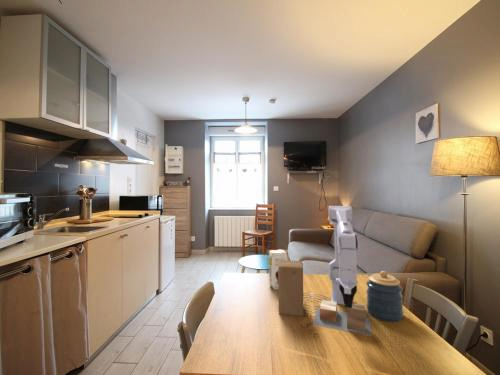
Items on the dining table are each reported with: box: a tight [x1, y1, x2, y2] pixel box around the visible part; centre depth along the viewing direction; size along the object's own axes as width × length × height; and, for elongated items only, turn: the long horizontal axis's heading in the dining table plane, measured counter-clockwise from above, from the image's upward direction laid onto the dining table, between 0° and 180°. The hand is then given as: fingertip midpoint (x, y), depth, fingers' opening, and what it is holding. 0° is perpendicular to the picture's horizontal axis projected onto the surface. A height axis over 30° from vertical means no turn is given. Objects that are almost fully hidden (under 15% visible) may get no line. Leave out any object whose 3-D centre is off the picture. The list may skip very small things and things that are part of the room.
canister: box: [366, 270, 404, 323], centre depth 97 cm, size 13×13×18 cm
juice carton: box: [268, 248, 288, 291], centre depth 126 cm, size 8×9×19 cm
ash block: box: [319, 299, 338, 322], centre depth 96 cm, size 4×6×8 cm
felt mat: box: [312, 307, 373, 337], centre depth 92 cm, size 14×20×1 cm
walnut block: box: [346, 303, 366, 333], centre depth 87 cm, size 4×6×8 cm, turn 67°
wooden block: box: [277, 259, 304, 317], centre depth 101 cm, size 10×10×20 cm
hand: (348, 306), depth 83 cm, fingers closed
